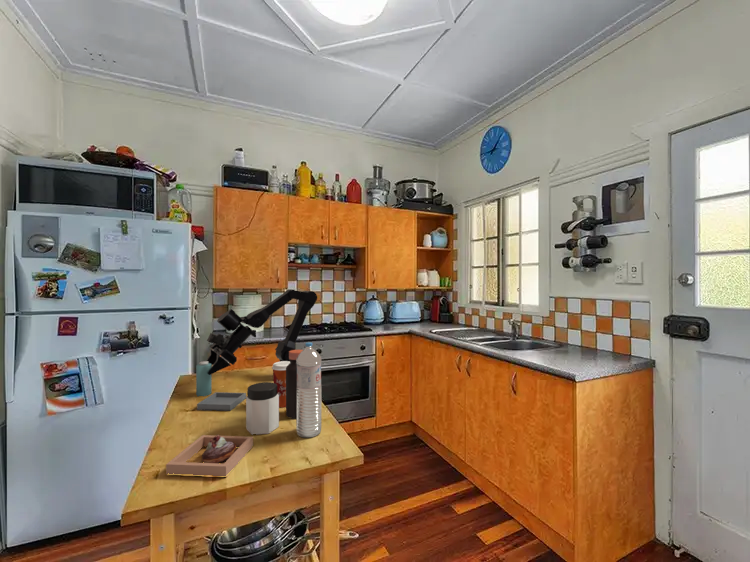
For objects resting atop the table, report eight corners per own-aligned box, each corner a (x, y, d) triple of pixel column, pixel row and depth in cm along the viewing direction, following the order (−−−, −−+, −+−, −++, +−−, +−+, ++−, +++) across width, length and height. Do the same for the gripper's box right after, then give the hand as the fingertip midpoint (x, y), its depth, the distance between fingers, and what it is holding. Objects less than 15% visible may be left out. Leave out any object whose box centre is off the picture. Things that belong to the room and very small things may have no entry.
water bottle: (310, 441, 87) (310, 346, 87) (291, 435, 90) (290, 343, 90) (326, 430, 93) (326, 342, 93) (307, 425, 96) (307, 339, 96)
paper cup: (275, 410, 107) (275, 367, 107) (269, 403, 114) (269, 362, 114) (298, 405, 111) (298, 364, 111) (291, 398, 118) (291, 359, 118)
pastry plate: (253, 446, 84) (253, 436, 84) (226, 478, 71) (226, 466, 71) (202, 444, 85) (202, 435, 85) (166, 475, 72) (166, 464, 72)
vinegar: (285, 411, 106) (285, 349, 106) (306, 409, 108) (306, 348, 108) (286, 420, 100) (286, 354, 100) (309, 417, 102) (309, 352, 102)
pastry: (207, 450, 83) (207, 430, 83) (239, 447, 84) (239, 427, 84) (197, 468, 75) (196, 446, 75) (232, 464, 76) (232, 443, 76)
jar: (261, 419, 100) (261, 380, 100) (284, 423, 97) (283, 383, 97) (239, 432, 92) (239, 389, 92) (264, 437, 89) (263, 393, 89)
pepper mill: (214, 392, 125) (214, 360, 125) (206, 396, 120) (206, 363, 120) (201, 391, 125) (201, 360, 125) (193, 396, 120) (193, 363, 120)
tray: (246, 398, 118) (246, 392, 118) (230, 410, 107) (230, 404, 107) (215, 397, 119) (215, 392, 119) (197, 410, 108) (197, 404, 108)
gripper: (215, 322, 134) (184, 353, 127) (227, 328, 119) (192, 363, 112) (236, 340, 138) (207, 370, 132) (249, 347, 124) (217, 382, 117)
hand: (205, 371), depth 123 cm, fingers open, 9 cm apart
